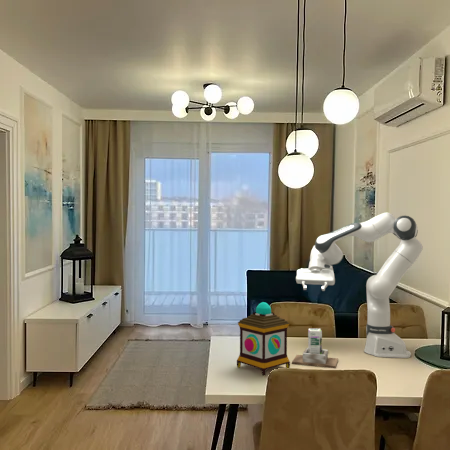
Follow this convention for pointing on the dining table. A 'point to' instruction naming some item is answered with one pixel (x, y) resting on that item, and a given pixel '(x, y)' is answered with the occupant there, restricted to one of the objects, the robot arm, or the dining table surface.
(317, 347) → the syrup box
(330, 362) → the collar base
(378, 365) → the dining table surface
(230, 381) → the dining table surface
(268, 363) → the decorative lantern
